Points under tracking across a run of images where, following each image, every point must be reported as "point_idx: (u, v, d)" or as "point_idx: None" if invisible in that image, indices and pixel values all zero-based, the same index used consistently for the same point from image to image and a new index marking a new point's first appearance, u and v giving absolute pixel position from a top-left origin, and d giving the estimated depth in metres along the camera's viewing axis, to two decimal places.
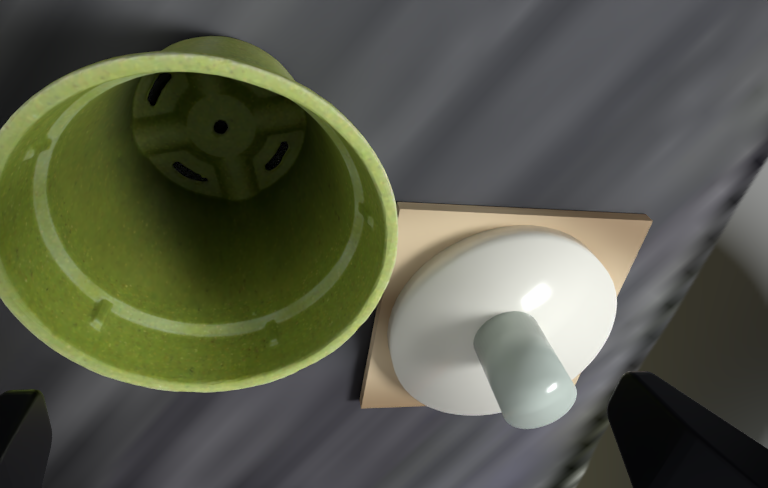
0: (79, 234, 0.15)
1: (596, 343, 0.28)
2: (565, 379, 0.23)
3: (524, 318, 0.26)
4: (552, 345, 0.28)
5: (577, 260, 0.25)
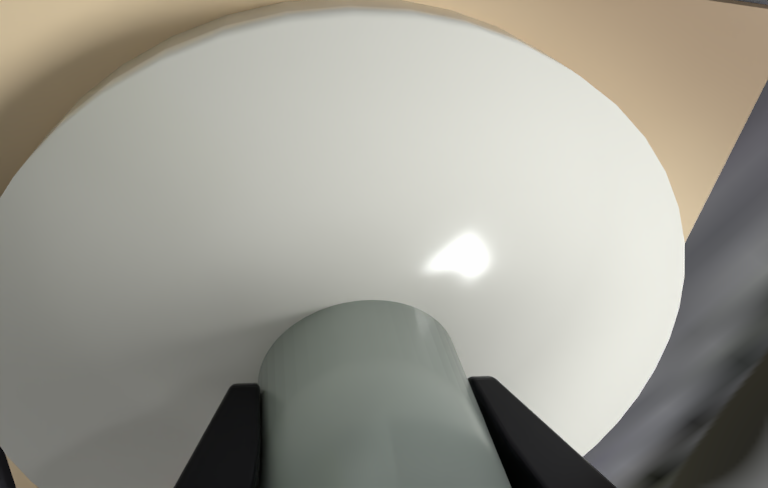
0: None
1: (623, 387, 0.10)
2: None
3: (397, 322, 0.08)
4: None
5: (562, 121, 0.07)
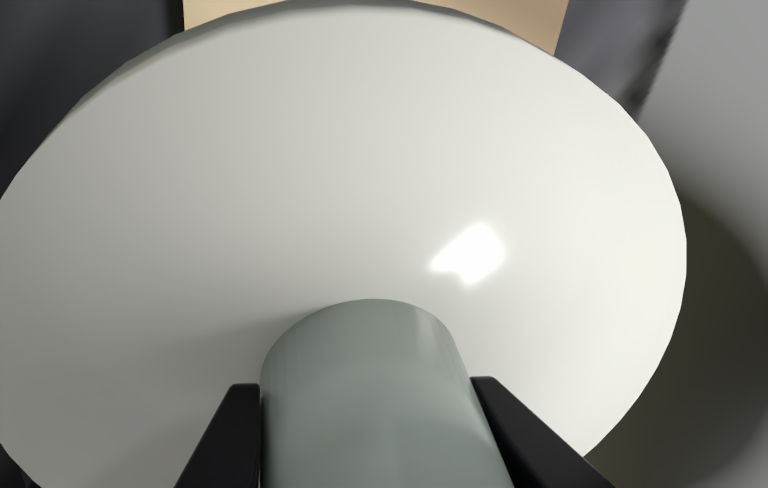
0: None
1: (624, 386, 0.10)
2: None
3: (398, 321, 0.08)
4: None
5: (564, 119, 0.07)
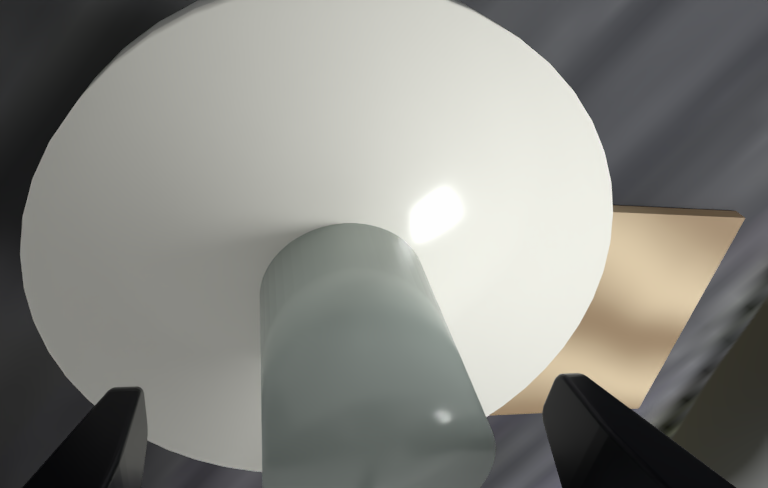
0: None
1: (566, 314, 0.12)
2: (453, 403, 0.07)
3: (374, 239, 0.10)
4: (463, 317, 0.12)
5: (507, 75, 0.09)
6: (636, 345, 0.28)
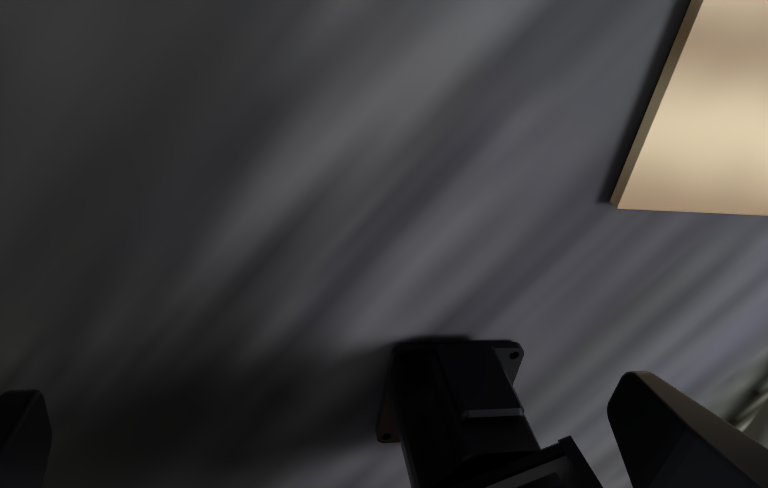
0: None
1: None
2: None
3: None
4: None
5: None
6: None
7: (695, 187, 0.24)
